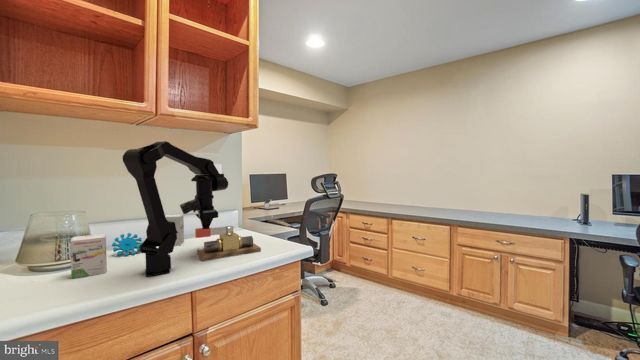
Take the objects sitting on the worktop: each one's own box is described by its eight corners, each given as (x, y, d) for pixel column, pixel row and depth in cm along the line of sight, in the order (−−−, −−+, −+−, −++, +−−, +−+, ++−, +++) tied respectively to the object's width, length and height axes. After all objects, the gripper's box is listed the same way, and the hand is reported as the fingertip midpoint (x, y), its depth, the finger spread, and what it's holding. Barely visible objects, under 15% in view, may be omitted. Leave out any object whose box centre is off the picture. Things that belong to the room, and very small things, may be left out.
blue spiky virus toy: (109, 254, 105) (114, 231, 111) (109, 263, 108) (113, 240, 114) (145, 254, 110) (147, 232, 117) (143, 262, 114) (146, 240, 120)
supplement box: (180, 245, 123) (180, 216, 123) (161, 246, 121) (161, 217, 121) (184, 241, 130) (184, 213, 130) (166, 242, 129) (166, 214, 128)
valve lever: (232, 232, 114) (232, 225, 114) (234, 234, 111) (234, 226, 111) (195, 236, 108) (195, 228, 108) (196, 238, 105) (196, 230, 105)
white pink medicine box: (70, 279, 86) (69, 240, 85) (73, 274, 90) (71, 236, 89) (106, 273, 90) (105, 236, 90) (107, 268, 95) (106, 233, 94)
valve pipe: (206, 255, 105) (206, 239, 105) (203, 252, 110) (203, 236, 110) (254, 248, 115) (253, 233, 114) (249, 245, 119) (249, 230, 119)
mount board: (201, 261, 102) (201, 256, 102) (196, 254, 111) (196, 250, 111) (260, 251, 114) (260, 247, 114) (252, 245, 122) (252, 242, 122)
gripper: (178, 191, 113) (179, 230, 114) (184, 196, 97) (185, 242, 98) (208, 189, 119) (209, 226, 120) (218, 194, 103) (219, 237, 104)
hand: (205, 232), depth 110 cm, fingers closed
